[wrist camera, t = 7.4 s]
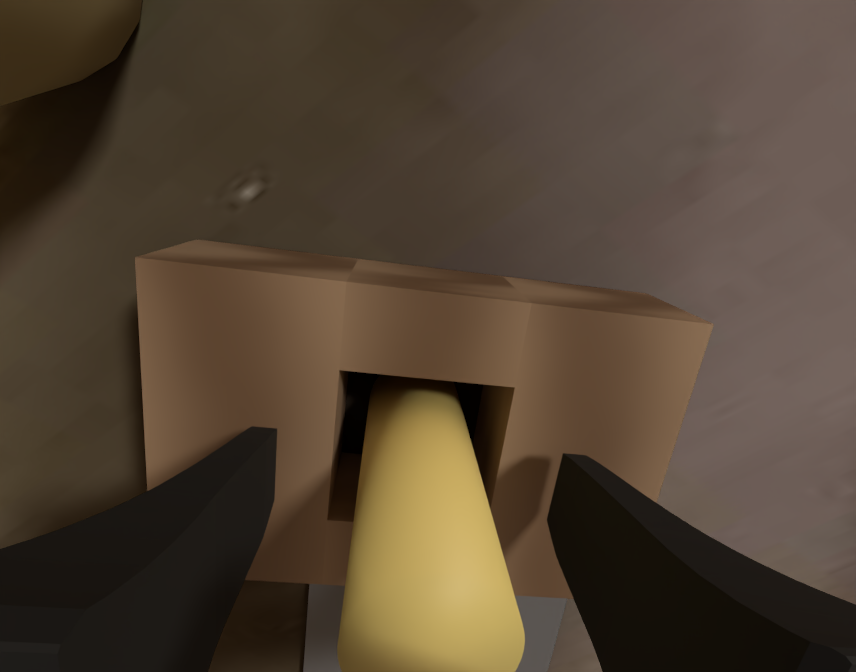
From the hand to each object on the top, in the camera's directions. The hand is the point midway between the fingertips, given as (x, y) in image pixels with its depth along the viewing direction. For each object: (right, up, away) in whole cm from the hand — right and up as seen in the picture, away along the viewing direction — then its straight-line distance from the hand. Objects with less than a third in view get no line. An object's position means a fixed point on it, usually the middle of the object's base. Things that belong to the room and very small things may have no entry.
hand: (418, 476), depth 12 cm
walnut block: (0, +1, +4) cm, 4 cm away
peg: (0, +1, +4) cm, 4 cm away
